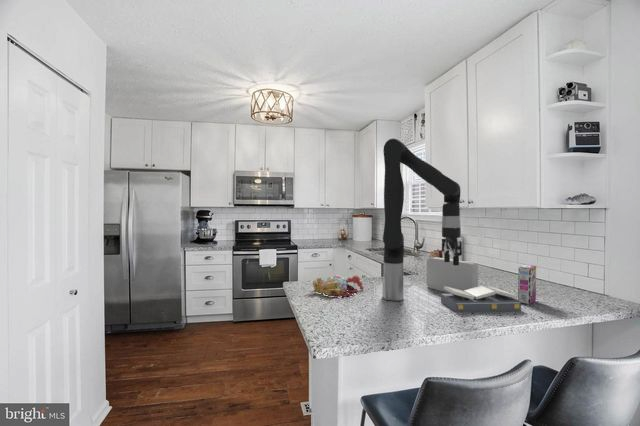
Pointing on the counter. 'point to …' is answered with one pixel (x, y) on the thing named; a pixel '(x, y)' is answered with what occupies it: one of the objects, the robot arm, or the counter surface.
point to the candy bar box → (527, 284)
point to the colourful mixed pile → (338, 282)
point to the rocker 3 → (502, 292)
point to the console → (481, 303)
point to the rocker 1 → (458, 292)
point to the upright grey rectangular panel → (451, 274)
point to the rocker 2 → (480, 292)
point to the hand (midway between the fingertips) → (451, 263)
